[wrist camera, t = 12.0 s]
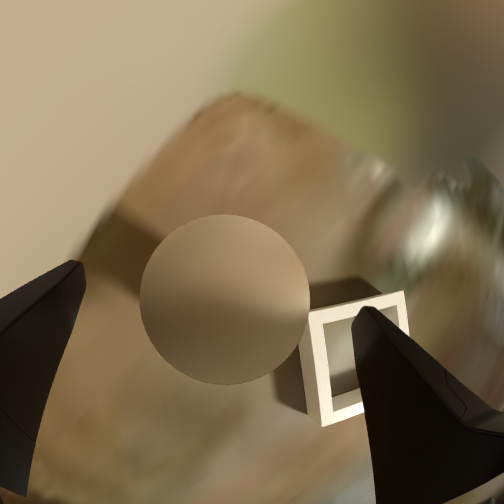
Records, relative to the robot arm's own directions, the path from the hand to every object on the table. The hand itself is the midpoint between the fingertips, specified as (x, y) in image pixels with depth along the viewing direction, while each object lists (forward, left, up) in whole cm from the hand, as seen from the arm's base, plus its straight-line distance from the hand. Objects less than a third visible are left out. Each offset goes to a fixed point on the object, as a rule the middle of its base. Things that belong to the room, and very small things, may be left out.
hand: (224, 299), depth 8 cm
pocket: (-6, -11, -13) cm, 18 cm away
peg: (0, 0, -13) cm, 13 cm away
